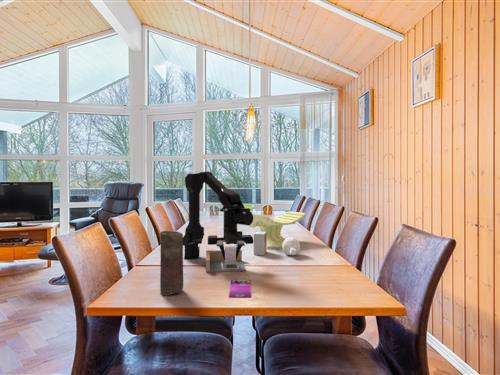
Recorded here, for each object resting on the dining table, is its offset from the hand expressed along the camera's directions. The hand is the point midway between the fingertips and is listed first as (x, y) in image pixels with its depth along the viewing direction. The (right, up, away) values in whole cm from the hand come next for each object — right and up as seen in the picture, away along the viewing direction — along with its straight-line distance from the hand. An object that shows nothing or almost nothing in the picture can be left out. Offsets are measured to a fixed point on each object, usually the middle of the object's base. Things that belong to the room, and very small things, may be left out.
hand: (230, 260), depth 123 cm
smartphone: (+5, -5, -23) cm, 24 cm away
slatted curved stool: (+24, -3, +49) cm, 54 cm away
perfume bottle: (+28, -3, +22) cm, 36 cm away
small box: (+14, -3, +26) cm, 29 cm away
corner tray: (-2, -3, +3) cm, 5 cm away
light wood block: (0, -2, +3) cm, 3 cm away
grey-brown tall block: (-17, -4, -26) cm, 32 cm away
